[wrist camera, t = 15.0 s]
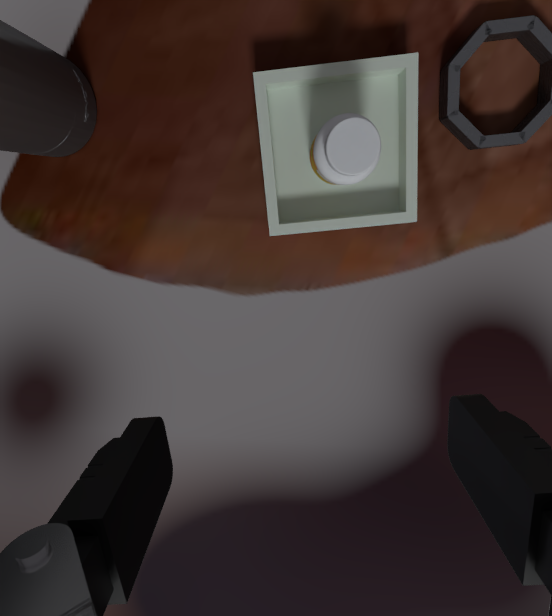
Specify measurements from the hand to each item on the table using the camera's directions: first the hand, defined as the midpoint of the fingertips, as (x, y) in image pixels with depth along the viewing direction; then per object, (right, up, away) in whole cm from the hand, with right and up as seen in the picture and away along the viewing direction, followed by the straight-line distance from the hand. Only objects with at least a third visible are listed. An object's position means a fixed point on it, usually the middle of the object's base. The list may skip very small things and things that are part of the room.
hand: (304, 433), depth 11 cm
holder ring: (+19, +24, +25) cm, 40 cm away
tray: (+5, +19, +27) cm, 34 cm away
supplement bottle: (+5, +18, +27) cm, 33 cm away
